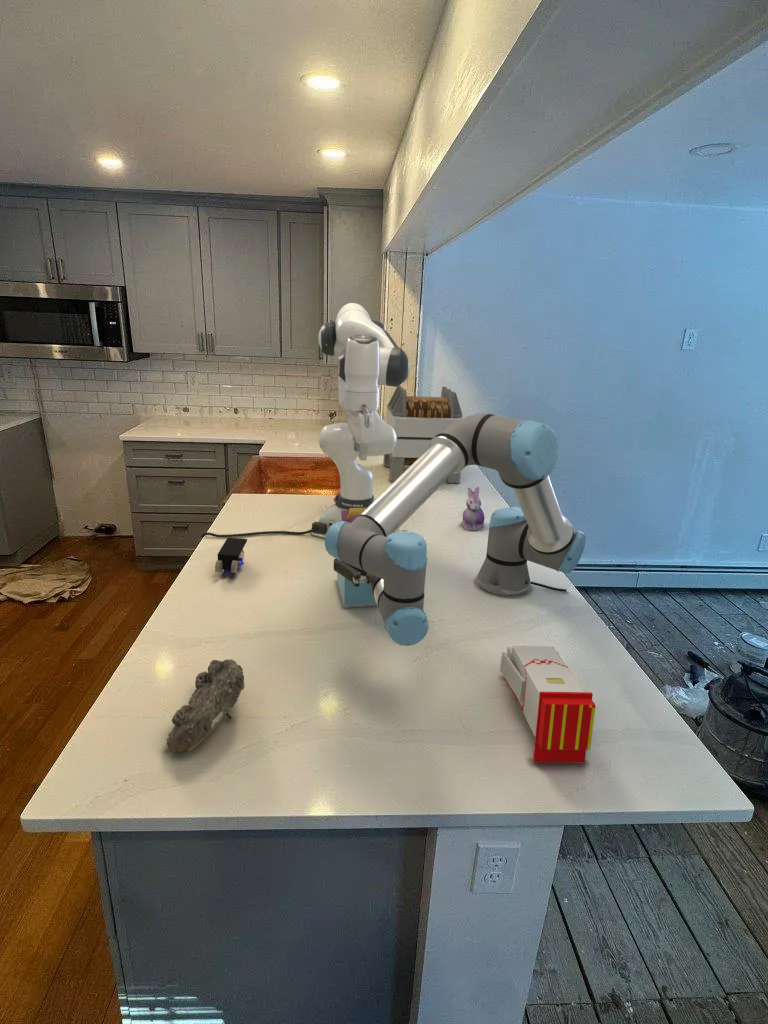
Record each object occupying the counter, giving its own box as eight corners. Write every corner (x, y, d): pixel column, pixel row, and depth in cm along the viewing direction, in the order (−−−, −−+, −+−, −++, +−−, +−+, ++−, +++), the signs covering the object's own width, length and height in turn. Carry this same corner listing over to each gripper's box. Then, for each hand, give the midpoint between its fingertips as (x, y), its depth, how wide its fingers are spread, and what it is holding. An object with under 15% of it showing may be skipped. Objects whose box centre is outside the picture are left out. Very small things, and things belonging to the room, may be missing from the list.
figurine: (470, 532, 203) (474, 493, 198) (454, 523, 212) (457, 484, 207) (491, 529, 208) (495, 490, 202) (474, 520, 216) (478, 482, 211)
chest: (337, 581, 163) (337, 548, 160) (371, 579, 165) (372, 546, 162) (344, 607, 149) (344, 571, 146) (381, 605, 151) (383, 569, 148)
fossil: (192, 660, 117) (244, 628, 112) (224, 691, 120) (276, 661, 115) (142, 746, 98) (202, 712, 93) (182, 779, 101) (242, 748, 96)
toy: (549, 628, 125) (605, 700, 96) (544, 683, 128) (596, 770, 99) (495, 627, 125) (534, 699, 95) (491, 683, 128) (527, 769, 98)
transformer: (382, 463, 289) (386, 382, 275) (445, 464, 293) (451, 384, 279) (390, 482, 257) (394, 392, 243) (460, 483, 261) (468, 394, 247)
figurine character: (238, 584, 162) (249, 557, 175) (236, 562, 158) (247, 536, 172) (215, 584, 161) (227, 556, 175) (212, 561, 158) (225, 535, 171)
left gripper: (381, 409, 134) (379, 465, 139) (366, 396, 153) (365, 446, 158) (355, 409, 133) (353, 466, 138) (343, 395, 152) (342, 446, 157)
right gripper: (329, 611, 113) (319, 565, 132) (449, 603, 118) (422, 560, 137) (329, 577, 110) (319, 535, 130) (452, 570, 115) (424, 531, 135)
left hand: (359, 455), depth 148 cm, fingers open, 8 cm apart
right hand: (372, 548), depth 134 cm, fingers open, 13 cm apart
